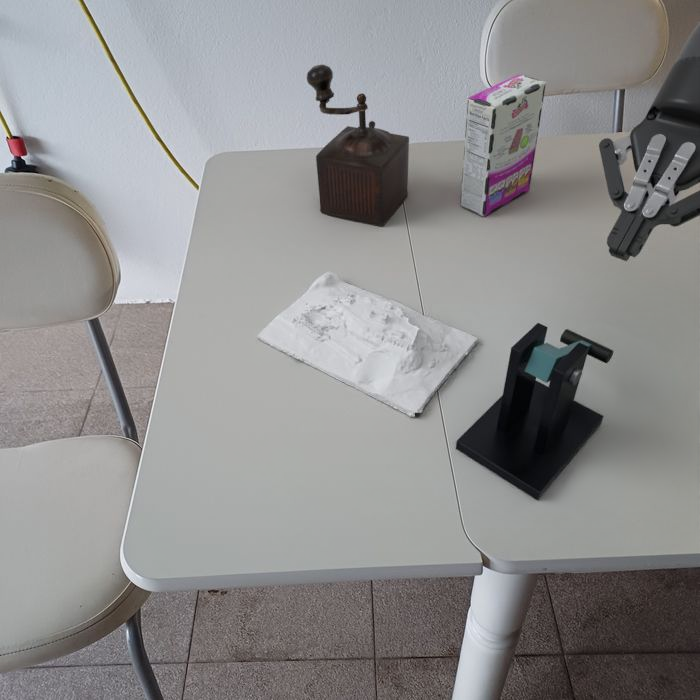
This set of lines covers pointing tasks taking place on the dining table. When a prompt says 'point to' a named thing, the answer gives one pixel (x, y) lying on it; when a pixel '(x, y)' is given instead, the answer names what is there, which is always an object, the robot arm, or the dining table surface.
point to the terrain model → (369, 342)
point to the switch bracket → (533, 421)
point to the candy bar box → (500, 143)
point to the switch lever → (562, 354)
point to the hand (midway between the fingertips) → (617, 256)
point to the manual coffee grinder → (359, 163)
